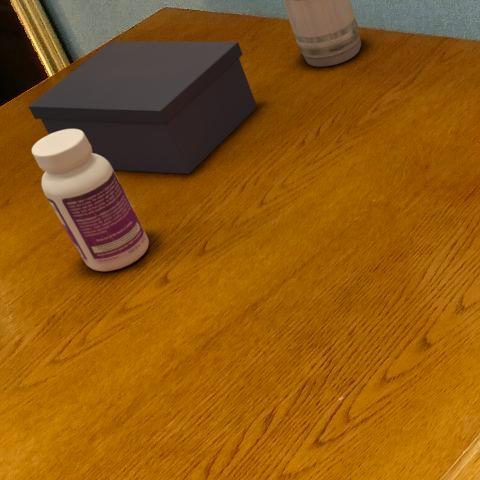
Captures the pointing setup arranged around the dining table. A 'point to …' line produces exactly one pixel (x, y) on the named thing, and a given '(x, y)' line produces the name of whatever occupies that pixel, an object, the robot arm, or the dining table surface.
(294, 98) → the dining table surface
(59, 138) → the pill bottle
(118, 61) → the storage box
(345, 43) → the camera lens
